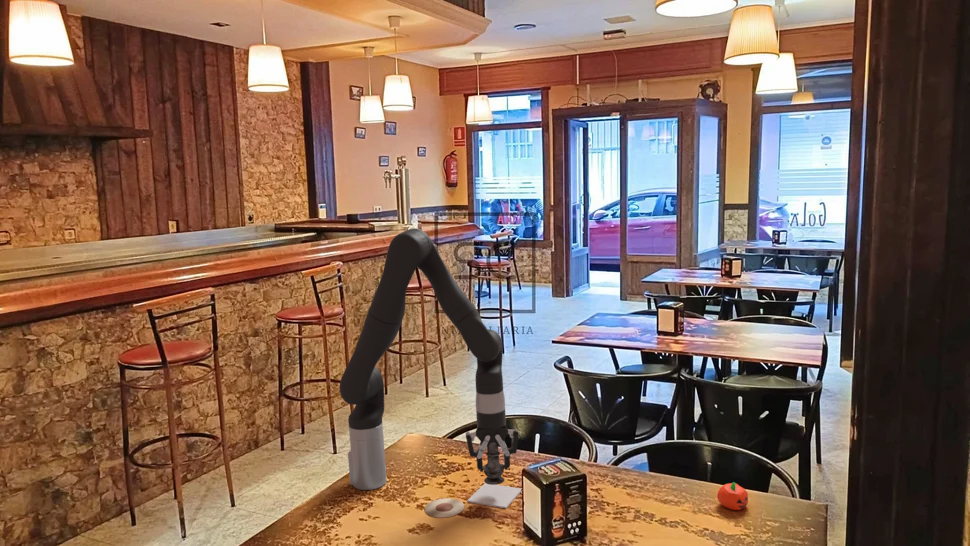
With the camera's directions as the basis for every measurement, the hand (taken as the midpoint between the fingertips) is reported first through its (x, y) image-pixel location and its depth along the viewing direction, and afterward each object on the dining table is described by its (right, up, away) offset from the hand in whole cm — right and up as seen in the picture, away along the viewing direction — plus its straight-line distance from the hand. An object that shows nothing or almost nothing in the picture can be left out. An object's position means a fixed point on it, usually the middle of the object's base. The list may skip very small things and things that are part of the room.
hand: (493, 469), depth 176 cm
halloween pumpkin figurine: (+59, -6, -11) cm, 60 cm away
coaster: (-13, -9, -4) cm, 16 cm away
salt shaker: (0, -3, 0) cm, 3 cm away
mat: (0, -7, +1) cm, 7 cm away
